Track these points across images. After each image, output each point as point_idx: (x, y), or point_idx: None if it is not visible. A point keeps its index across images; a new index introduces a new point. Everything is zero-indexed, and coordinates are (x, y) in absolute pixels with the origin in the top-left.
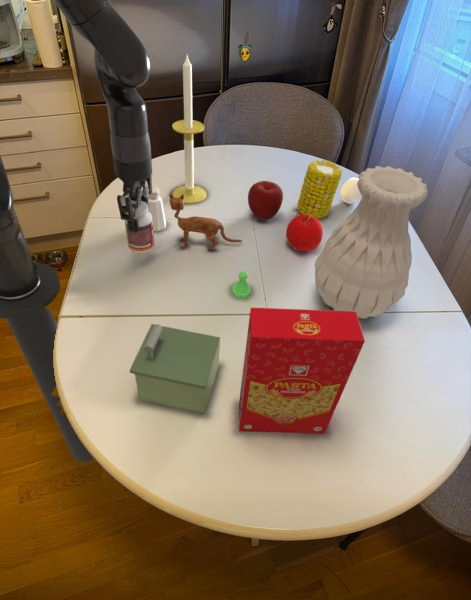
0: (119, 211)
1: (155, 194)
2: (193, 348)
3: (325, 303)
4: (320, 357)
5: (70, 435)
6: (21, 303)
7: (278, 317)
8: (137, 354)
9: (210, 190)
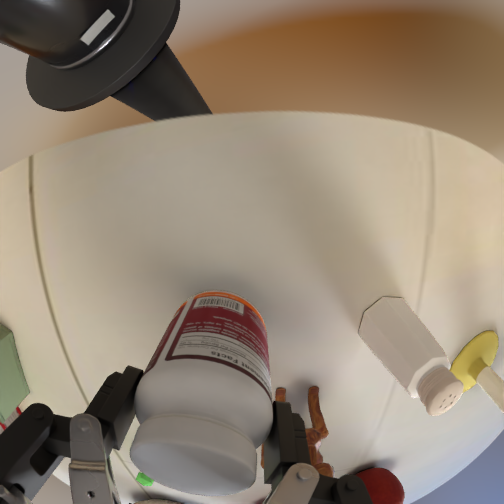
0: (2, 432)
1: (425, 405)
2: None
3: (145, 501)
4: None
5: None
6: (42, 65)
7: None
8: None
9: (468, 393)
